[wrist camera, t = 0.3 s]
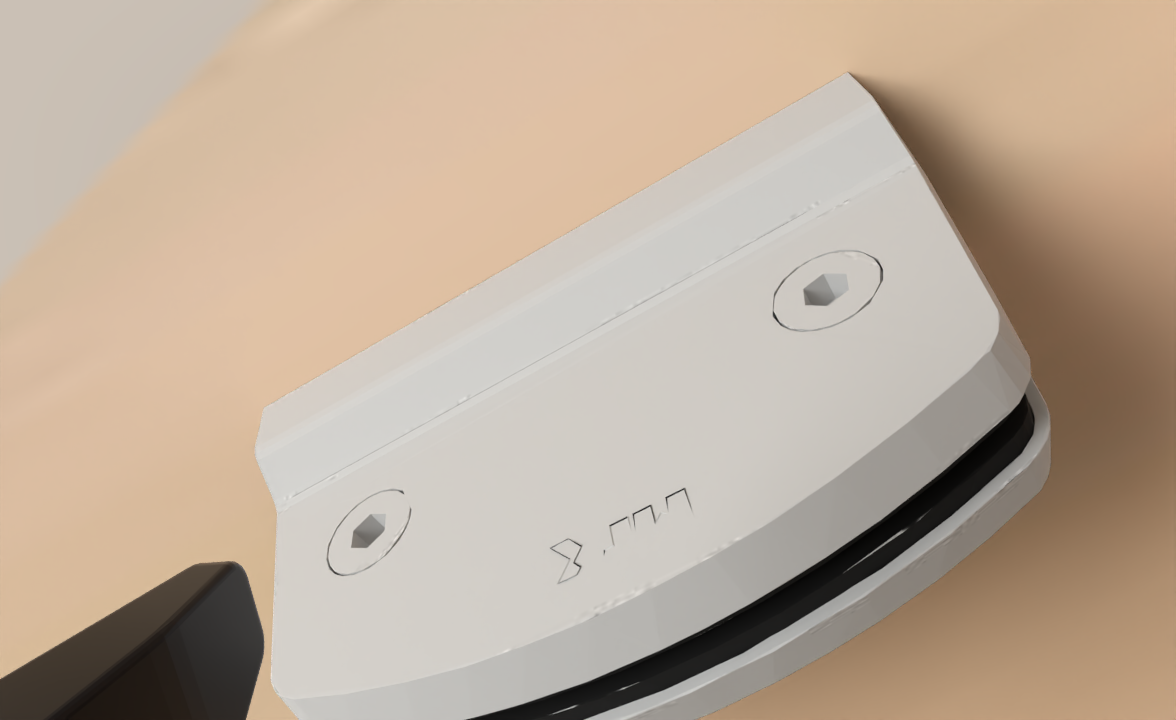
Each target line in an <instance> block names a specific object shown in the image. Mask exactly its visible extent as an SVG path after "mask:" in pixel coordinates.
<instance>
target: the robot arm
mask: <svg viewBox="0 0 1176 720" xmlns="http://www.w3.org/2000/svg"><path fill="white" fill-rule="evenodd" d="M263 654H264V634H263V629H262V626H261V622H260V619H259V615H258V612H257V608H256V605H255V601H254V598H253V595H252V591H251V588H250V584H249V581H248V577H247V575H246V572H245V570H244V569H243V567H242V566H241V565H239V564H238V563H236V562H233V561H227V562H212V563H199V564H196V565H193V566H191V567H189V568H187V569H186V570H184V571H182V572H181V573H179V574H177V575H176V576H174V577H172V578H170V579H169V580H167V581H165V582H164V583H162V584H160V585H159V586H157V587H155V588H154V589H152V590H150V591H148V592H147V593H145V594H143V595H142V596H140V597H138V598H137V599H135V600H133V601H132V602H130V603H128V604H126V605H125V606H123V607H121V608H120V609H118V610H116V611H115V612H113V613H111V614H110V615H108V616H106V617H105V618H103V619H101V620H99V621H98V622H96V623H94V624H93V625H91V626H89V627H88V628H86V629H84V630H83V631H81V632H79V633H77V634H76V635H74V636H72V637H71V638H69V639H67V640H66V641H64V642H62V643H61V644H59V645H57V646H55V647H54V648H52V649H50V650H49V651H47V652H45V653H44V654H42V655H40V656H39V657H37V658H35V659H34V660H32V661H30V662H28V663H27V664H25V665H23V666H22V667H20V668H18V669H17V670H15V671H13V672H12V673H10V674H8V675H6V676H5V677H3V678H1V679H0V720H246V717H247V714H248V710H249V706H250V703H251V699H252V695H253V692H254V688H255V685H256V681H257V677H258V674H259V670H260V667H261V663H262V659H263Z"/></svg>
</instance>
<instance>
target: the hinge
mask: <svg viewBox="0 0 1176 720" xmlns="http://www.w3.org/2000/svg"><path fill="white" fill-rule="evenodd" d="M255 456H256V460H257V462H258V465H259V467H260V470H261V472H262V474H263V477H264V479H265V481H266V484H267V486H268V488H269V491H270V493H271V495H272V498H273V500H274V503H275V506H276V510H277V531H276V557H275V583H274V609H273V634H272V660H271V683H272V685H273V688H274V690H275V692H276V693H277V695H278V696H279V697H280V698H281V699H282V700H283V701H284V703H285V704H286V705H287V706H288V707H289V708H290V710H291V711H292V712H293V713H294V714H295V715H296V717H297V718H298V719H299V720H696V719H698V718H701V717H703V716H706V715H708V714H711V713H713V712H716V711H718V710H720V709H722V708H724V707H726V706H728V705H730V704H732V703H734V702H736V701H739V700H741V699H743V698H745V697H747V696H749V695H751V694H753V693H755V692H757V691H759V690H761V689H763V688H766V687H768V686H770V685H772V684H774V683H776V682H778V681H779V680H781V679H783V678H785V677H787V676H789V675H790V674H792V673H794V672H796V671H797V670H799V669H801V668H803V667H805V666H806V665H808V664H810V663H812V662H813V661H815V660H817V659H819V658H821V657H822V656H824V655H826V654H828V653H829V652H831V651H833V650H835V649H836V648H838V647H839V646H841V645H843V644H844V643H846V642H847V641H849V640H851V639H852V638H854V637H855V636H857V635H859V634H860V633H862V632H863V631H865V630H867V629H868V628H870V627H871V626H873V625H875V624H876V623H878V622H879V621H881V620H882V619H884V618H885V617H887V616H888V615H889V614H891V613H892V612H894V611H895V610H896V609H898V608H899V607H901V606H902V605H904V604H905V603H906V602H908V601H909V600H911V599H912V598H913V597H915V596H916V595H918V594H919V593H920V592H922V591H923V590H925V589H926V588H927V587H929V586H930V585H932V584H933V583H935V582H936V581H937V580H939V579H940V578H941V577H942V576H943V575H945V574H946V573H947V572H948V571H950V570H951V569H952V568H953V567H955V566H956V565H957V564H958V563H959V562H961V561H962V560H963V559H964V558H966V557H967V556H968V555H969V554H971V553H972V552H973V551H974V550H975V549H977V548H978V547H979V546H980V545H982V544H983V543H984V542H985V541H986V540H988V539H989V538H990V537H991V536H992V535H993V534H994V533H996V532H997V531H998V530H999V529H1000V528H1001V527H1002V526H1003V525H1004V524H1005V523H1006V522H1007V521H1008V520H1010V519H1011V518H1012V517H1013V516H1014V515H1015V514H1016V513H1017V512H1018V511H1019V510H1020V509H1021V508H1023V507H1024V506H1025V505H1026V504H1027V503H1028V502H1029V501H1030V500H1031V499H1032V498H1033V497H1034V496H1035V495H1037V494H1038V493H1039V492H1040V491H1041V489H1042V487H1043V486H1044V484H1045V482H1046V480H1047V478H1048V476H1049V471H1050V467H1051V427H1050V413H1049V410H1048V407H1047V404H1046V402H1045V400H1044V398H1043V396H1042V394H1041V393H1040V391H1039V389H1038V387H1037V386H1036V384H1035V382H1034V380H1033V378H1032V377H1031V363H1030V357H1029V355H1028V353H1027V351H1026V350H1025V348H1024V346H1023V344H1022V342H1021V340H1020V339H1019V337H1018V335H1017V333H1016V331H1015V329H1014V328H1013V326H1012V324H1011V322H1010V320H1009V318H1008V317H1007V315H1006V313H1005V311H1004V309H1003V307H1002V306H1001V304H1000V302H999V300H998V298H997V297H996V295H995V293H994V291H993V289H992V288H991V286H990V284H989V283H988V281H987V279H986V277H985V276H984V274H983V272H982V271H981V269H980V267H979V265H978V264H977V262H976V260H975V258H974V257H973V255H972V253H971V252H970V250H969V248H968V246H967V245H966V243H965V241H964V239H963V238H962V236H961V234H960V233H959V231H958V229H957V227H956V226H955V224H954V222H953V220H952V219H951V217H950V215H949V214H948V212H947V210H946V208H945V207H944V205H943V203H942V201H941V200H940V198H939V196H938V195H937V193H936V191H935V189H934V188H933V186H932V184H931V183H930V181H929V179H928V177H927V176H926V174H925V172H924V171H923V169H922V168H921V166H920V165H919V163H918V162H917V161H916V159H915V158H914V156H913V155H912V153H911V152H910V150H909V149H908V147H907V146H906V144H905V143H904V141H903V140H902V139H901V137H900V136H899V134H898V133H897V131H896V130H895V128H894V127H893V125H892V124H891V122H890V121H889V119H888V118H887V116H886V115H885V113H884V112H883V111H882V109H881V108H880V106H879V105H878V103H877V102H876V100H875V99H874V98H873V96H872V95H871V94H870V93H869V92H868V91H867V90H866V89H865V88H864V87H862V86H861V85H860V84H859V83H858V82H857V81H856V80H855V79H854V78H853V77H852V76H851V75H850V74H849V73H848V72H847V73H845V74H843V75H842V76H840V77H838V78H837V79H835V80H833V81H831V82H830V83H828V84H826V85H824V86H823V87H821V88H819V89H817V90H816V91H814V92H812V93H810V94H809V95H807V96H805V97H803V98H802V99H800V100H798V101H797V102H795V103H793V104H791V105H790V106H788V107H786V108H784V109H783V110H781V111H779V112H777V113H776V114H774V115H772V116H770V117H769V118H767V119H765V120H763V121H762V122H760V123H758V124H757V125H755V126H753V127H751V128H750V129H748V130H746V131H744V132H743V133H741V134H739V135H737V136H736V137H734V138H732V139H730V140H729V141H727V142H725V143H723V144H722V145H720V146H718V147H717V148H715V149H713V150H711V151H710V152H708V153H706V154H704V155H703V156H701V157H699V158H697V159H696V160H694V161H692V162H690V163H689V164H687V165H685V166H683V167H682V168H680V169H678V170H677V171H675V172H673V173H671V174H670V175H668V176H666V177H664V178H663V179H661V180H659V181H657V182H656V183H654V184H652V185H650V186H649V187H647V188H645V189H643V190H642V191H640V192H638V193H636V194H635V195H633V196H631V197H630V198H628V199H626V200H624V201H623V202H621V203H619V204H617V205H616V206H614V207H612V208H610V209H609V210H607V211H605V212H603V213H602V214H600V215H598V216H596V217H595V218H593V219H591V220H590V221H588V222H586V223H584V224H583V225H581V226H579V227H577V228H576V229H574V230H572V231H570V232H569V233H567V234H565V235H563V236H562V237H560V238H558V239H556V240H555V241H553V242H551V243H550V244H548V245H546V246H544V247H543V248H541V249H539V250H537V251H536V252H534V253H532V254H530V255H529V256H527V257H525V258H523V259H522V260H520V261H518V262H516V263H515V264H513V265H511V266H510V267H508V268H506V269H504V270H503V271H501V272H499V273H497V274H496V275H494V276H492V277H490V278H489V279H487V280H485V281H483V282H482V283H480V284H478V285H476V286H475V287H473V288H471V289H470V290H468V291H466V292H464V293H463V294H461V295H459V296H457V297H456V298H454V299H452V300H450V301H449V302H447V303H445V304H443V305H442V306H440V307H438V308H436V309H435V310H433V311H431V312H430V313H428V314H426V315H424V316H423V317H421V318H419V319H417V320H416V321H414V322H412V323H410V324H409V325H407V326H405V327H403V328H402V329H400V330H398V331H396V332H395V333H393V334H391V335H390V336H388V337H386V338H384V339H383V340H381V341H379V342H377V343H376V344H374V345H372V346H370V347H369V348H367V349H365V350H363V351H362V352H360V353H358V354H356V355H355V356H353V357H351V358H350V359H348V360H346V361H344V362H343V363H341V364H339V365H337V366H336V367H334V368H332V369H330V370H329V371H327V372H325V373H323V374H322V375H320V376H318V377H316V378H315V379H313V380H311V381H310V382H308V383H306V384H304V385H303V386H301V387H299V388H297V389H296V390H294V391H292V392H290V393H289V394H287V395H285V396H283V397H282V398H280V399H278V400H276V401H275V402H273V403H271V404H269V405H268V406H266V407H264V410H263V414H262V418H261V423H260V427H259V432H258V436H257V440H256V445H255Z"/></svg>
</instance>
